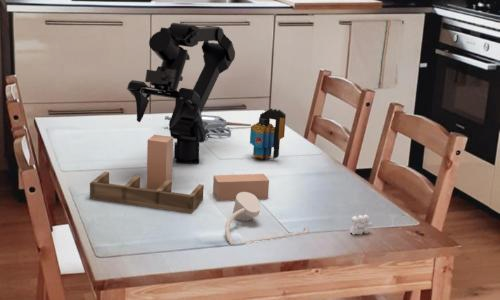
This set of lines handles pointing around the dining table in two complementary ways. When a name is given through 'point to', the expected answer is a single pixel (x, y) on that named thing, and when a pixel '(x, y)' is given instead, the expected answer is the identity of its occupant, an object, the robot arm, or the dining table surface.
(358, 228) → the white beaded block
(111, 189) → the tray
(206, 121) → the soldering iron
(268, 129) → the toy
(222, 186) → the clay bar
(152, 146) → the clay bar
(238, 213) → the toilet paper hanger
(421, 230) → the dining table surface
